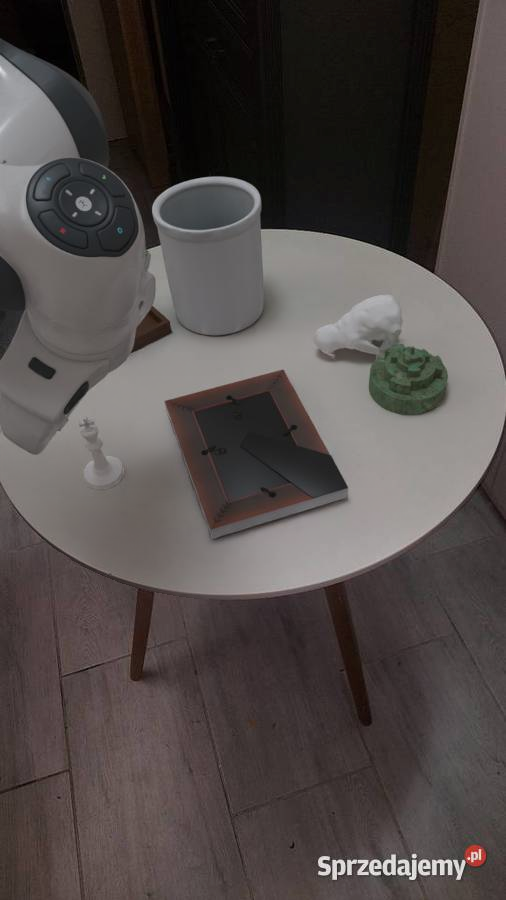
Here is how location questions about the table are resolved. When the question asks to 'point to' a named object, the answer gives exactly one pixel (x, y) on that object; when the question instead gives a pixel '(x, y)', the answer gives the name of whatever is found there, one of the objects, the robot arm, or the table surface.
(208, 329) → the utensil holder
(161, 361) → the table surface
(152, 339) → the dark tray
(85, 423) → the chess piece
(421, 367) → the decorative artifact
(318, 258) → the table surface
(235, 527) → the picture frame
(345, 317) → the white animal figurine
